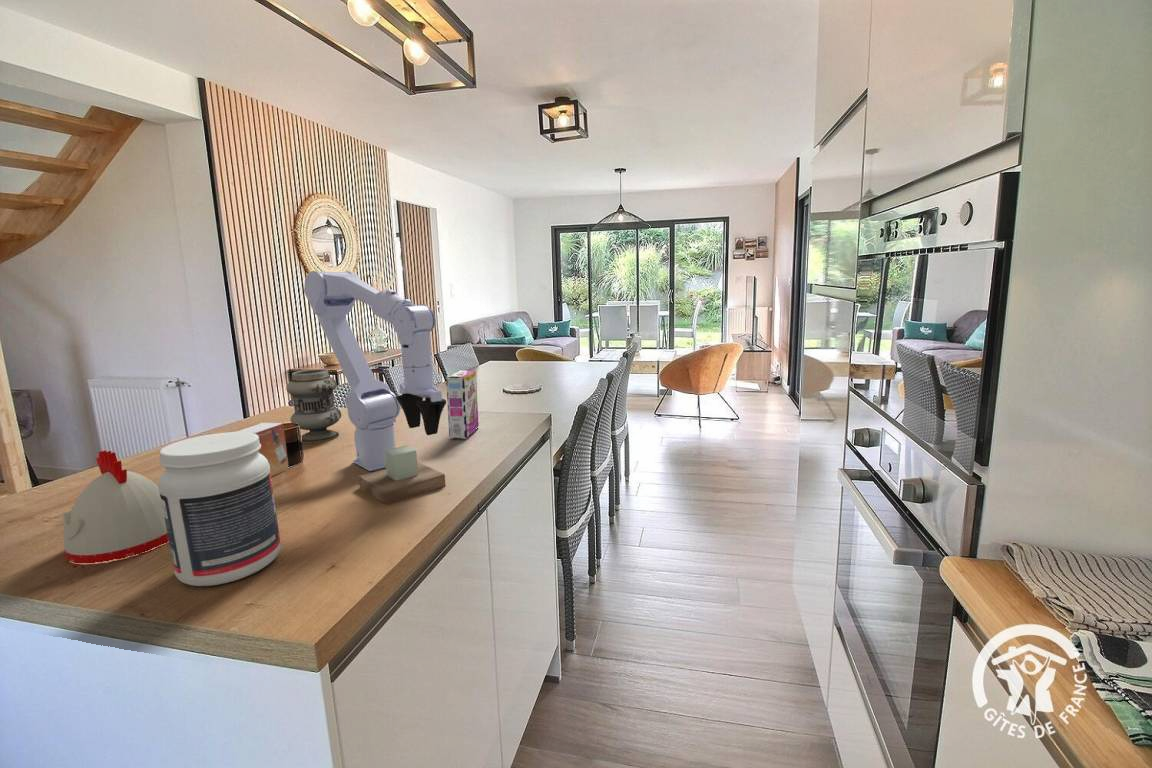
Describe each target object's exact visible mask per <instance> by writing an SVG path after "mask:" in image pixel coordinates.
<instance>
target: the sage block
mask: <svg viewBox="0 0 1152 768" xmlns="http://www.w3.org/2000/svg"><path fill="white" fill-rule="evenodd" d="M384 453H385V463H386V467H385V469H386V472H387V475H388V476H389V477H391V478H392V479H394V480H395V481H397V480H401V479H405V478H408V477H412V476H416V475H418V466H417V462H418V456H417V450H416V449H415V448H412V447H410V446H409V445H402V446H399V447H396V448H393V449H389V450H385V451H384Z"/></svg>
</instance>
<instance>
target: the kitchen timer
mask: <svg viewBox="0 0 1152 768" xmlns="http://www.w3.org/2000/svg"><path fill="white" fill-rule="evenodd" d="M97 453H98V457H95V459H96V464H97V465H98V469H99V471H100V473H101V474H100V475H99V476H98V477H97V476H96V478H94V479H92V481H91V482H89V483H88V484H87V485H86V486H85V487H84V488H83V490H81V492H80V494H79V495H78V497H77V499H76V500H75V502H74V503H73V506H72V507H71V508H70V512H63V513H62V514H63V515H62V536H63V548H64V549H63V550H64V554H65V558H67V559H68V560H67V559H66V560H67V562H68V561H71V562H74V563H95V562H103V561H109V560H113V559H121V558H125V557H128V556H132V555H136V554H140V553H142V552H145V551H148V550H150V549H152V548H154V547H157V546H159V545H161V544H164V543H167V542H168V541H169V539H168V534H167V528H166V523H165V518H164V513H163V508H162V502H161V497H160V492H159V490H158V485H157V484H156V483H154V482H153V481H152V480H151V479H149V478H148V477H146V476H144V475H142V474H139V473H137V472H133V471H129V470H127V469H123V467H122V460H118V459H117V455H116V454H117V453H116V452H115V451H114V452H112V451H111V450H106V449H105V450H101V451H98V452H97ZM167 544H168V543H167Z"/></svg>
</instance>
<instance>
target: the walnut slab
mask: <svg viewBox="0 0 1152 768" xmlns="http://www.w3.org/2000/svg"><path fill="white" fill-rule="evenodd" d="M417 466H418V475H416V476H412V477H408V478H405V479H401V480H397V481H395V480H394V479H392V478H391V477H389V476H388V475H387V472H386V468H382V469H378V470H375V471H371V472H369V473H366V474H365V473H364V474H362V475H359V476H358V480H359V481H358V482H359V488H360V489H361V490H362V491H364V492H366V493H367V494H369V495H371V496H373V497H374V498H375V499H377V500H379V501H380V502H381V503H383V504H385V505H386V506H387V505H391V504H394V503H397V502H400V501H404V500H406V499H409V498H413V497H416V496H419V495H422V494H425V493H428V492H432V491H434V490H437V489H438V490H439V489H441V488H443V487H446V475H445V474H444V473H443V472H440V471H439V470H436V469H434V468H431V467H430V466H427V465H425V464H423V463H421V462H419V461H417Z"/></svg>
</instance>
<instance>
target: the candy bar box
mask: <svg viewBox="0 0 1152 768" xmlns="http://www.w3.org/2000/svg"><path fill="white" fill-rule="evenodd" d="M477 382H478V381H477V370H473V369H472V370H471V369H470V370H467V369H465V370H459V371H456V372H454V373H451V374H450V375H448V376H446V377H445V384H446V386H445V387H446V404H447V416H448V417H447V420H448V433H449V440H457V439H466V440H468V439H469V438H470V437H471V436H472V435H473V434H474V433H475V432H476V431H477V430H476V428H477V427H478V426H479V412H478V411H479V409H478V407H479V406H478V405H479V404H478V403H479V402H478V386H477V385H478V383H477ZM475 430H476V431H475ZM474 431H475V432H474ZM473 432H474V433H473ZM472 433H473V434H472ZM471 434H472V435H471ZM470 435H471V436H470ZM469 436H470V437H469ZM468 437H469V438H468ZM467 438H468V439H467Z"/></svg>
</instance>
